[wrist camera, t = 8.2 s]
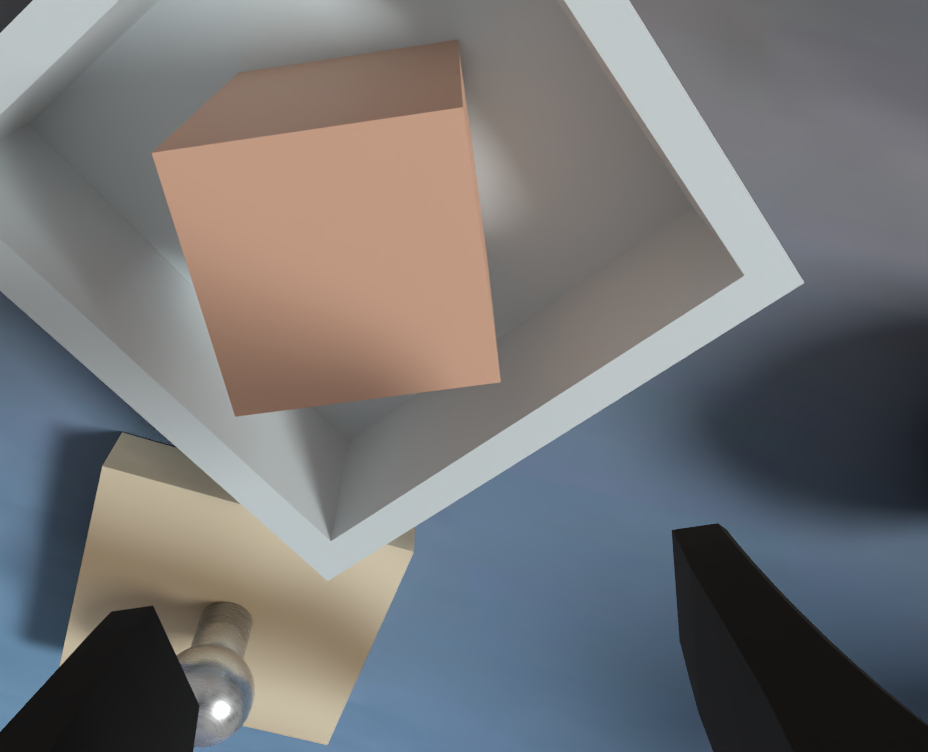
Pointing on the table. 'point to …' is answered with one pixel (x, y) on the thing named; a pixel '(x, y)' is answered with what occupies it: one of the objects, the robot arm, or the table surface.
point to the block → (336, 230)
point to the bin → (504, 221)
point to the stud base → (229, 596)
